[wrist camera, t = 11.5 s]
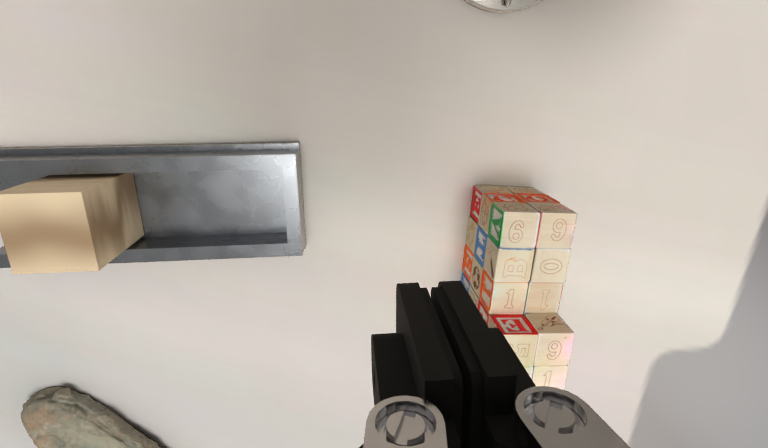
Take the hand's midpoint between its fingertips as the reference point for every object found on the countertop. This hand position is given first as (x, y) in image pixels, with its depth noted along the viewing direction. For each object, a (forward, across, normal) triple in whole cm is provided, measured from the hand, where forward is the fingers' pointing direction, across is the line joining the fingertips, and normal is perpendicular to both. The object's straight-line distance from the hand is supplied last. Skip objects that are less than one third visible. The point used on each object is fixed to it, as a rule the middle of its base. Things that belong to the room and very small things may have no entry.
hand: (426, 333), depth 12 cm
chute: (+31, +19, +4) cm, 37 cm away
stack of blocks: (+32, -13, +14) cm, 37 cm away
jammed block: (+30, +23, +4) cm, 38 cm away
